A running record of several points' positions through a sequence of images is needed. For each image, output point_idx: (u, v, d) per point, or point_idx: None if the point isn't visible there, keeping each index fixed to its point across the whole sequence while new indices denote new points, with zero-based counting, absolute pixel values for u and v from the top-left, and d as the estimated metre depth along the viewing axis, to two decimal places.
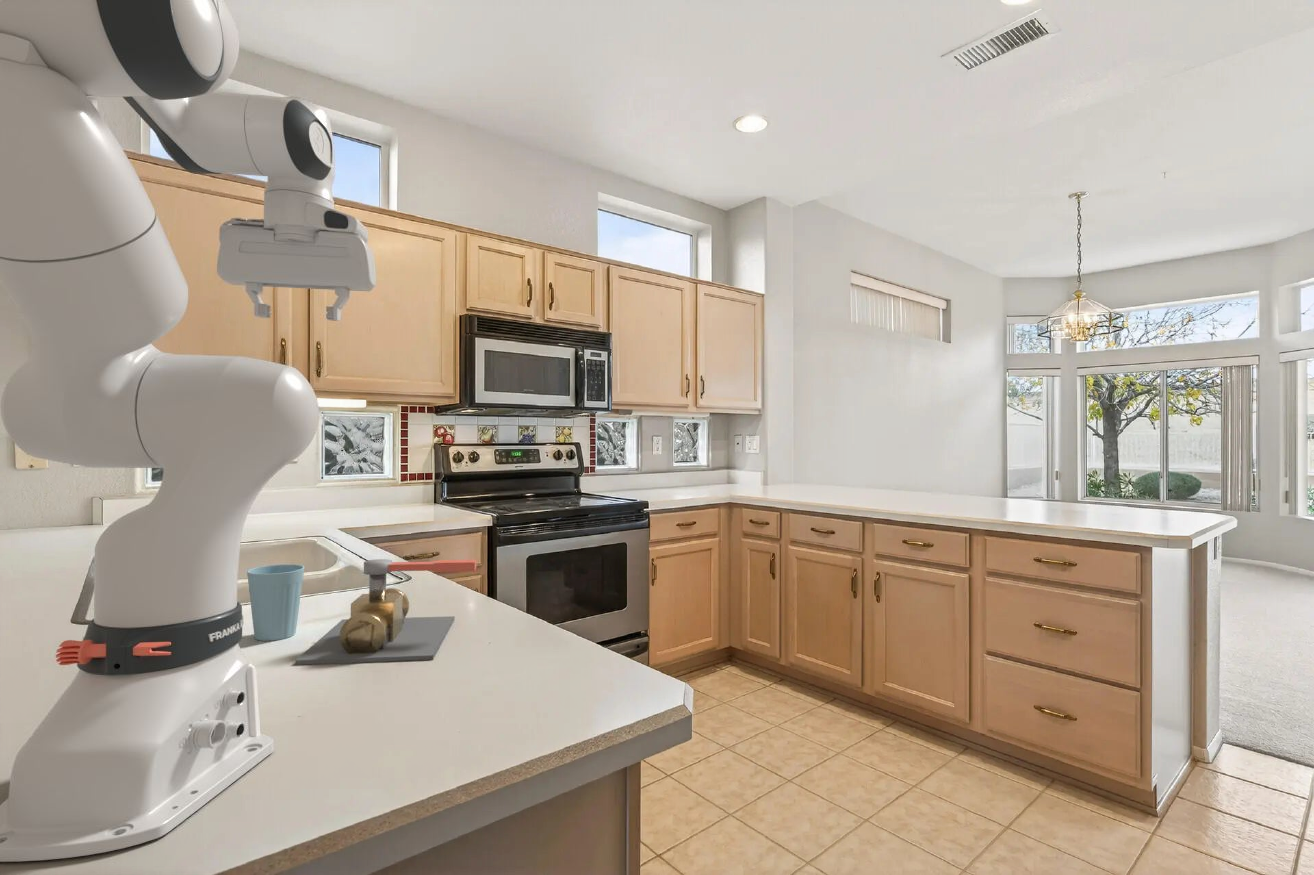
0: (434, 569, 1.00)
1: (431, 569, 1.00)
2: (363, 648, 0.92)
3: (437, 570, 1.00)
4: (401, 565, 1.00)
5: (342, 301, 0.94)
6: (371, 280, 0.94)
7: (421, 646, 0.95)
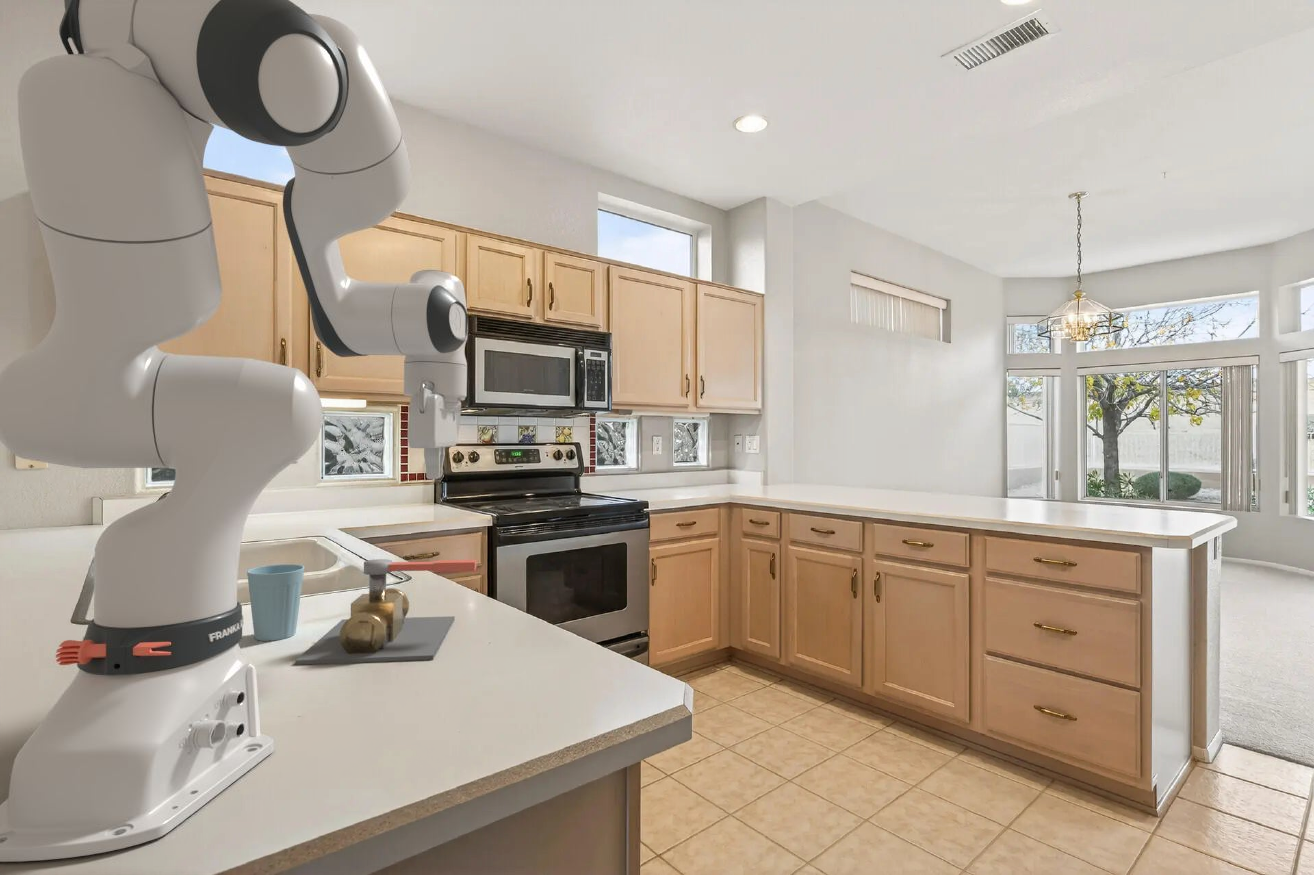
0: (434, 569, 1.00)
1: (431, 569, 1.00)
2: (363, 648, 0.92)
3: (437, 570, 1.00)
4: (401, 565, 1.00)
5: None
6: None
7: (421, 646, 0.95)
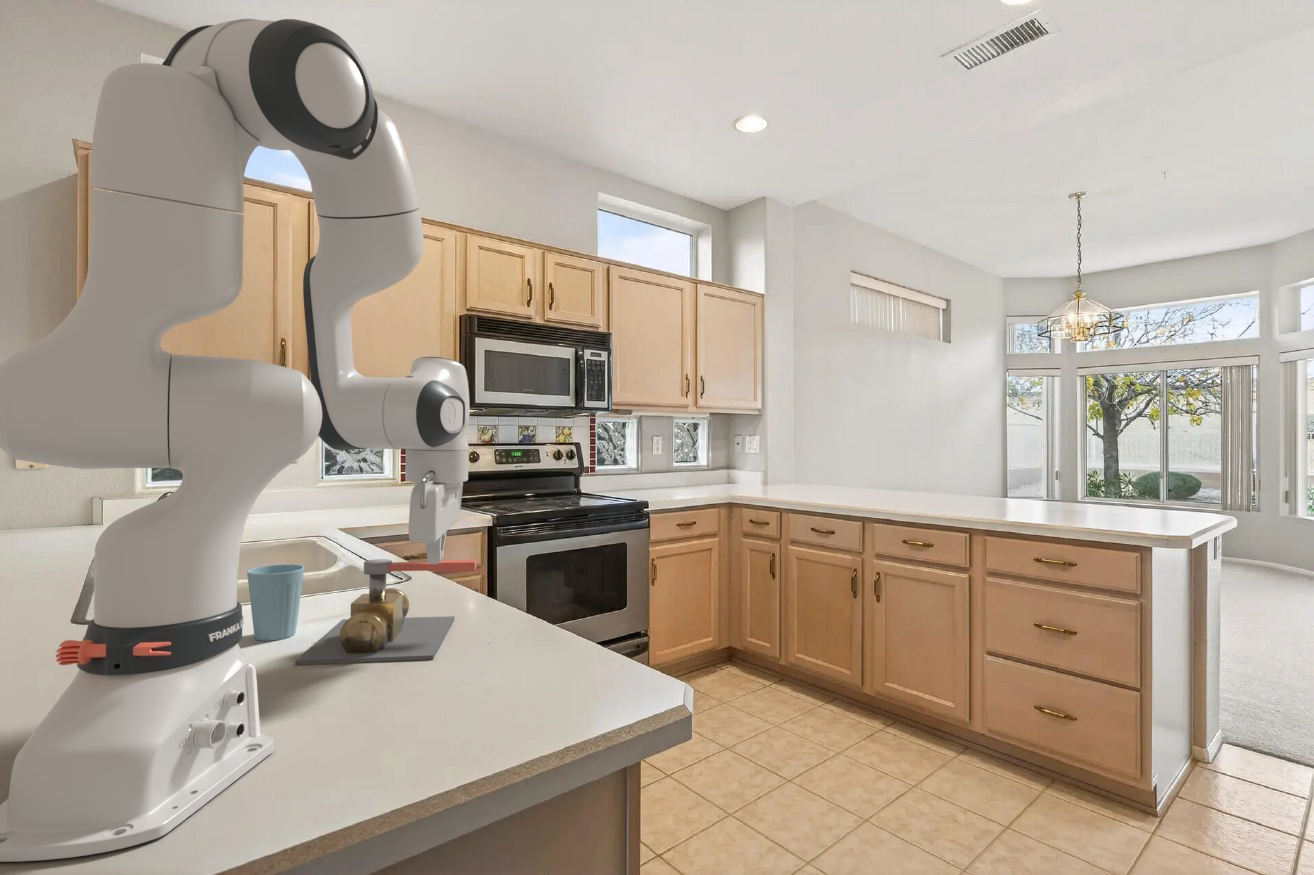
0: (434, 569, 1.00)
1: (431, 569, 1.00)
2: (363, 648, 0.92)
3: (437, 570, 1.00)
4: (401, 565, 1.00)
5: None
6: None
7: (421, 646, 0.95)
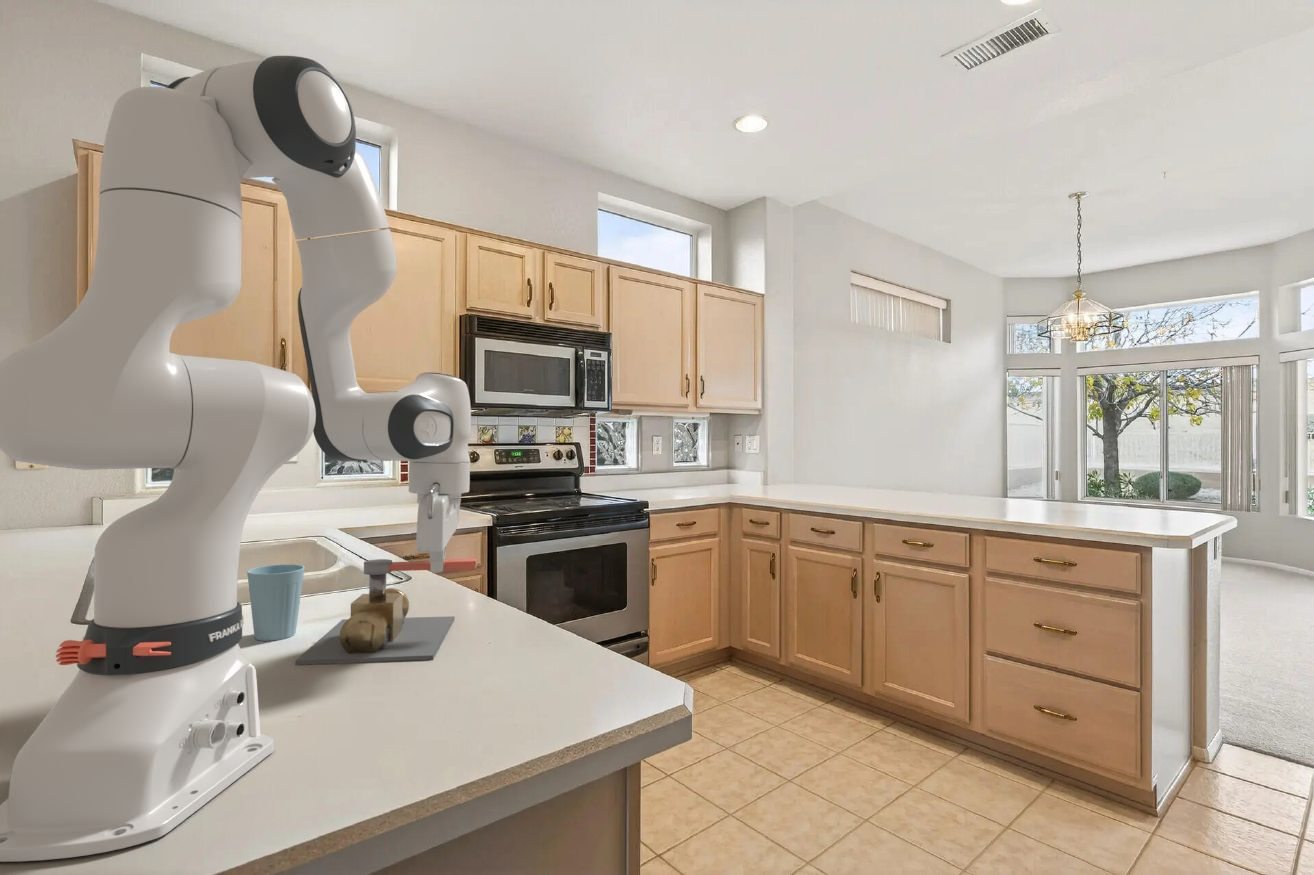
0: None
1: None
2: (363, 648, 0.92)
3: None
4: (402, 565, 1.00)
5: None
6: None
7: (421, 646, 0.95)
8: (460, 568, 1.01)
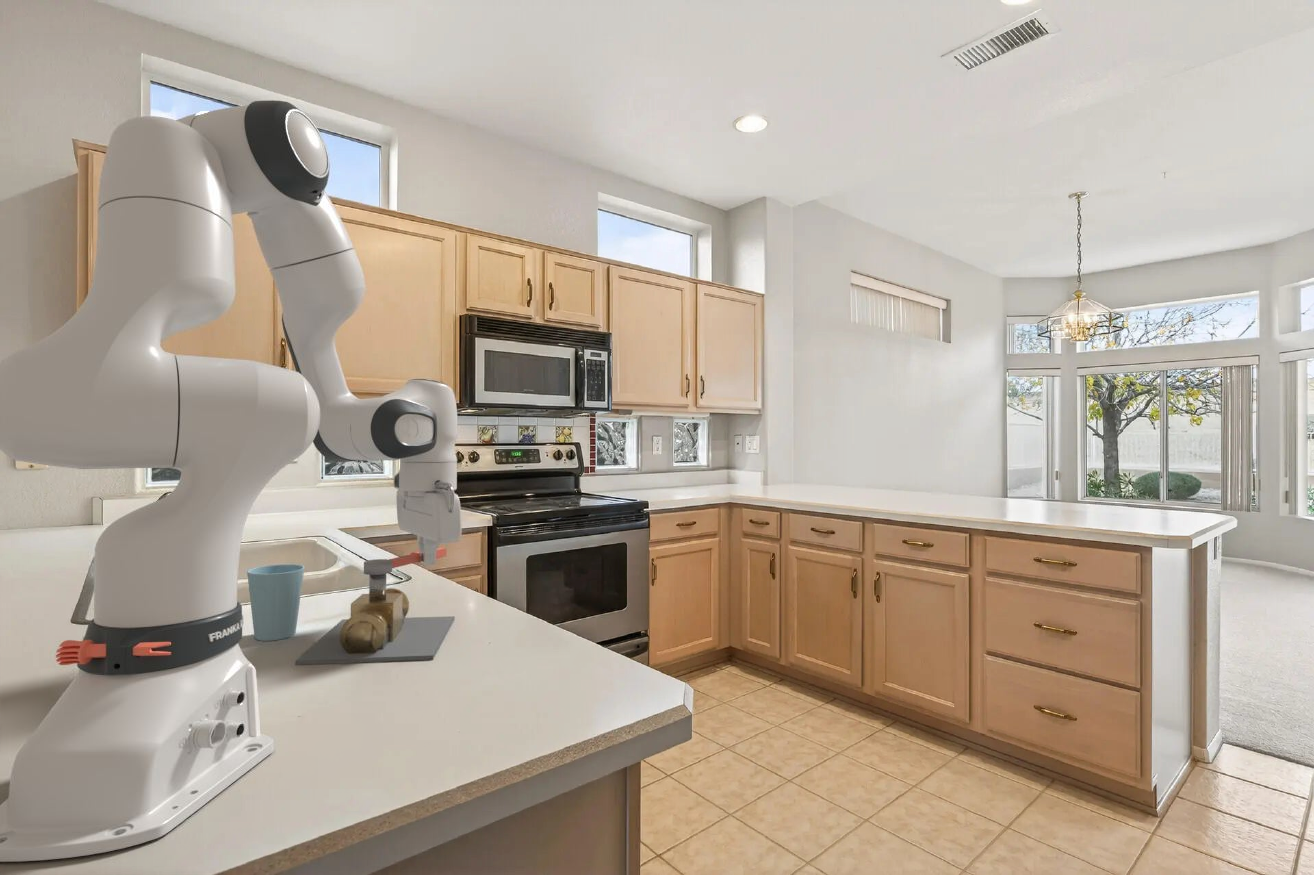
0: None
1: (419, 560, 1.07)
2: (363, 648, 0.92)
3: None
4: (400, 561, 1.03)
5: None
6: None
7: (421, 646, 0.95)
8: (437, 556, 1.11)
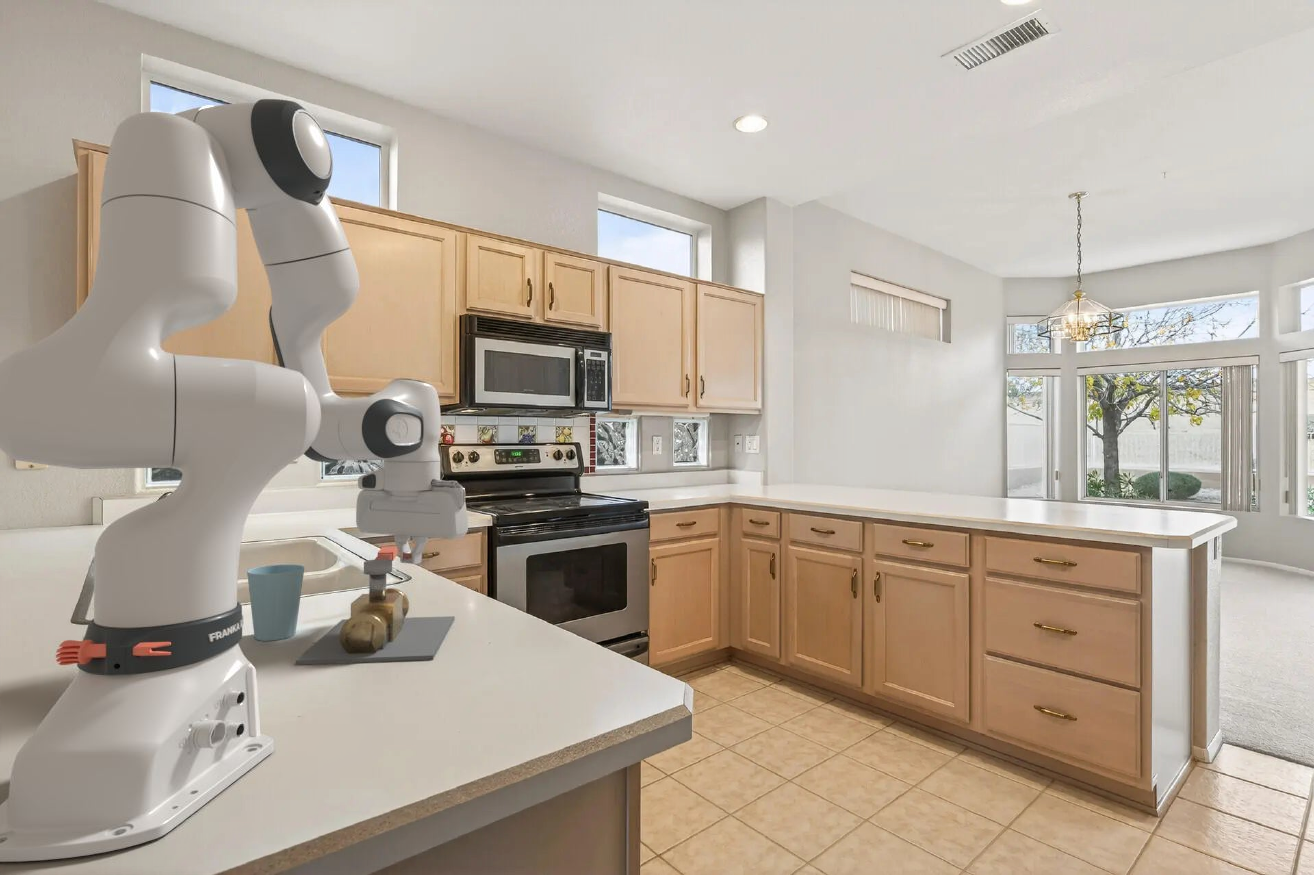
0: (392, 558, 1.08)
1: (391, 559, 1.08)
2: (363, 648, 0.92)
3: (393, 558, 1.09)
4: (387, 560, 1.04)
5: None
6: None
7: (421, 646, 0.95)
8: (395, 554, 1.12)
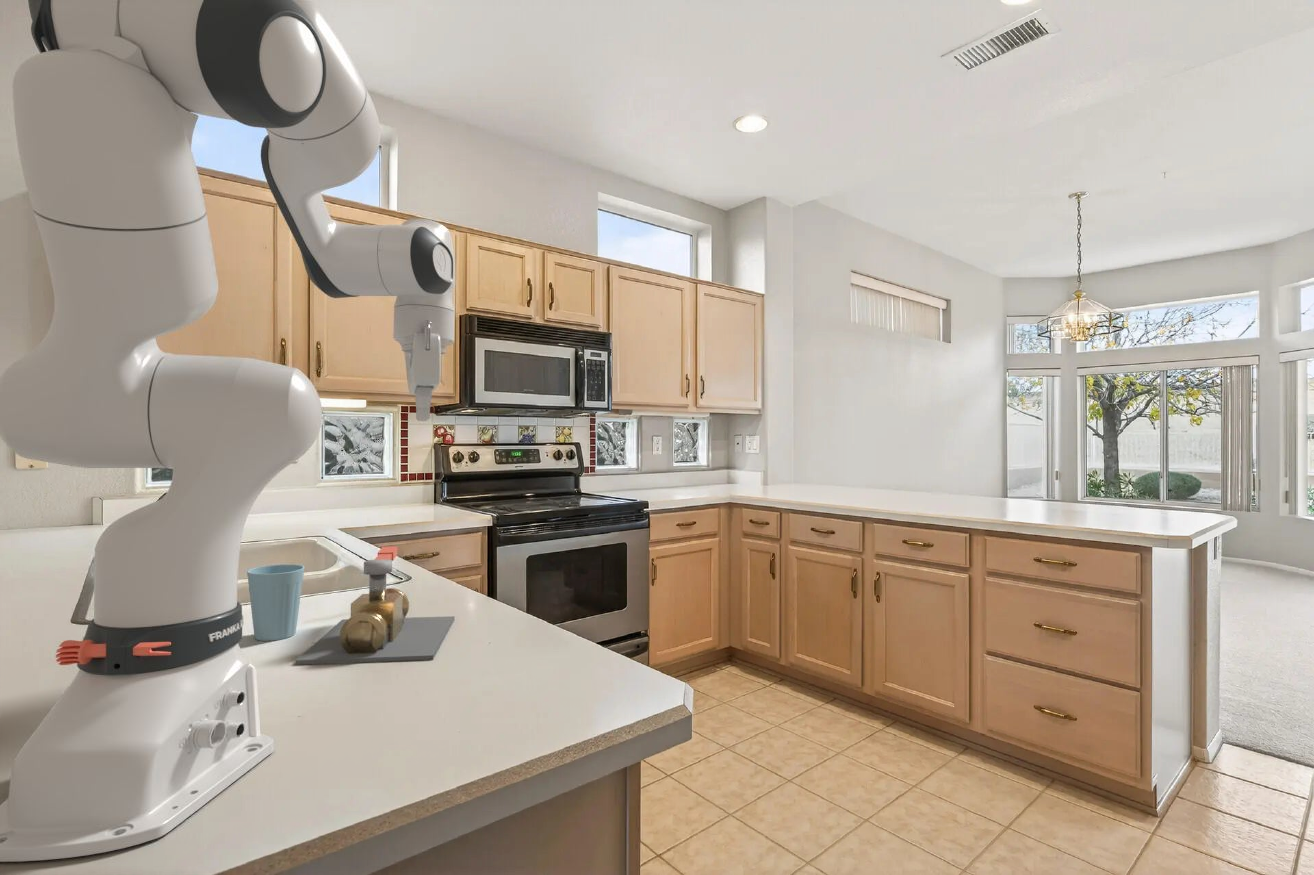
0: (392, 558, 1.08)
1: (391, 559, 1.08)
2: (363, 648, 0.92)
3: (393, 558, 1.09)
4: (387, 560, 1.04)
5: None
6: None
7: (421, 646, 0.95)
8: (395, 554, 1.12)
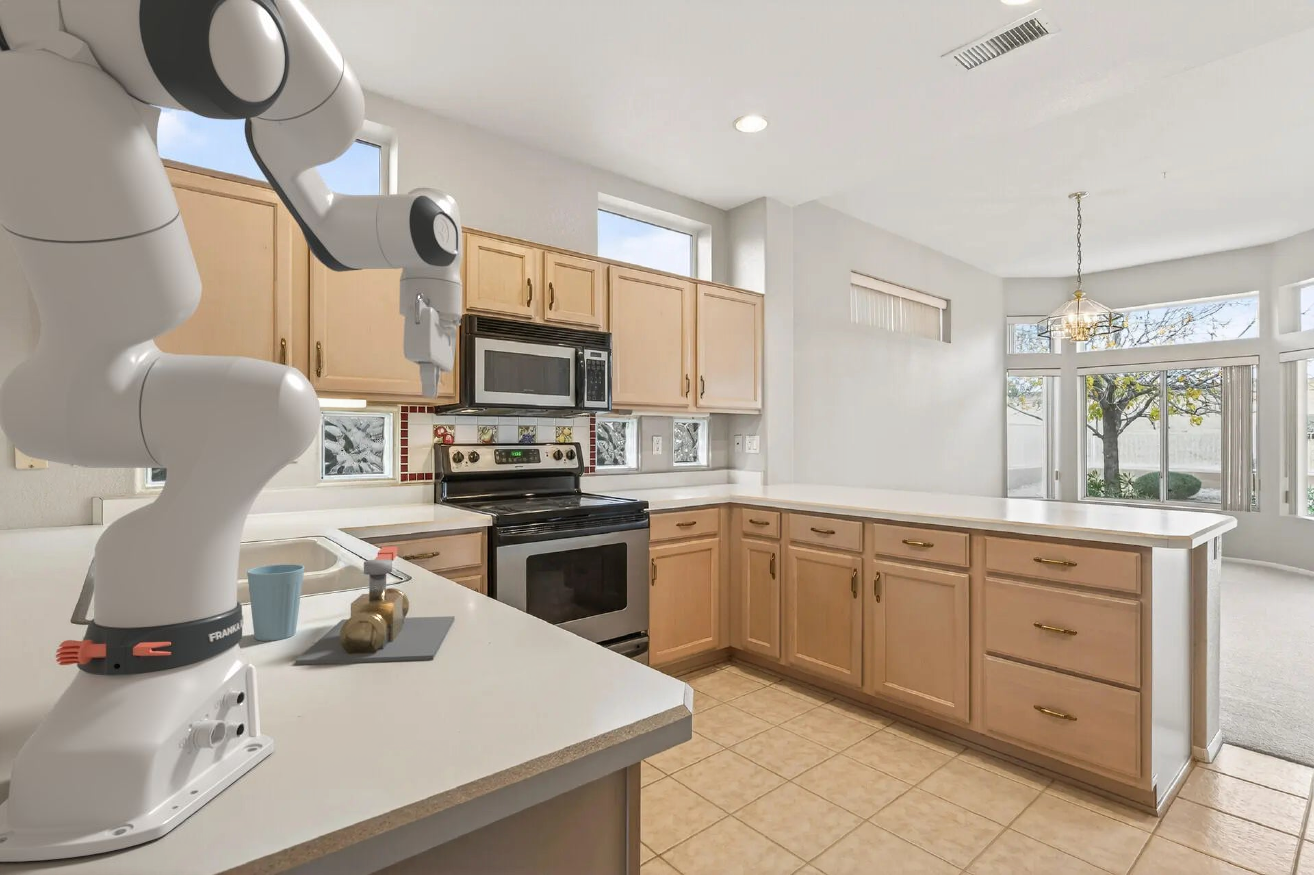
0: (392, 558, 1.08)
1: (391, 559, 1.08)
2: (363, 648, 0.92)
3: (393, 558, 1.09)
4: (387, 560, 1.04)
5: None
6: None
7: (421, 646, 0.95)
8: (395, 554, 1.12)
